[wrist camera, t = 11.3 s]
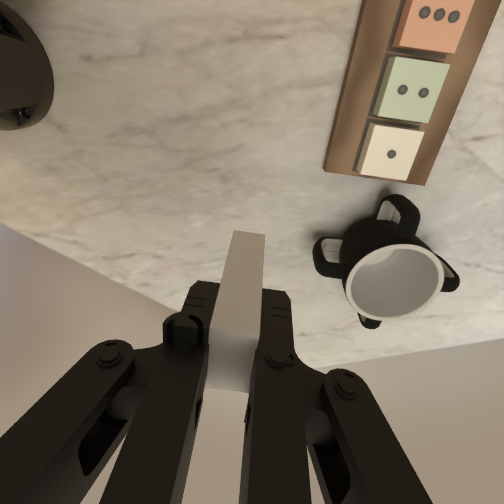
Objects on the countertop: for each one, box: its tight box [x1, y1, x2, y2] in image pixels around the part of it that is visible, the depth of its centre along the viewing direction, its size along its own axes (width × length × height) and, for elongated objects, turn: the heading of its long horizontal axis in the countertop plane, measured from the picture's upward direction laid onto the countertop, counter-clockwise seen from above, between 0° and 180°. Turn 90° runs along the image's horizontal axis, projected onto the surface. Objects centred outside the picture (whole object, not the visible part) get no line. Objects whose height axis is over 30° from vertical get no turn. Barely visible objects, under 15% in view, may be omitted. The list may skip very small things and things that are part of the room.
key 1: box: [356, 122, 424, 181], centre depth 40 cm, size 6×6×3 cm
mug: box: [312, 194, 460, 329], centre depth 45 cm, size 16×16×12 cm
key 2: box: [372, 57, 450, 123], centre depth 36 cm, size 6×6×3 cm
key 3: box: [392, 0, 475, 55], centre depth 33 cm, size 6×6×3 cm
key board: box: [323, 0, 501, 186], centre depth 39 cm, size 14×22×2 cm, turn 173°
